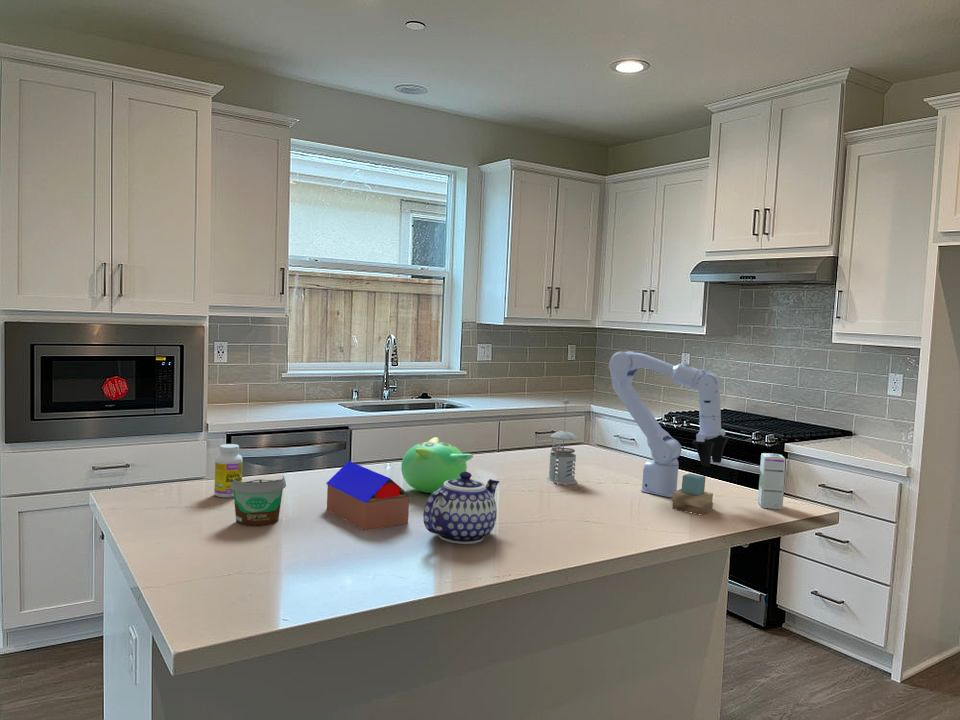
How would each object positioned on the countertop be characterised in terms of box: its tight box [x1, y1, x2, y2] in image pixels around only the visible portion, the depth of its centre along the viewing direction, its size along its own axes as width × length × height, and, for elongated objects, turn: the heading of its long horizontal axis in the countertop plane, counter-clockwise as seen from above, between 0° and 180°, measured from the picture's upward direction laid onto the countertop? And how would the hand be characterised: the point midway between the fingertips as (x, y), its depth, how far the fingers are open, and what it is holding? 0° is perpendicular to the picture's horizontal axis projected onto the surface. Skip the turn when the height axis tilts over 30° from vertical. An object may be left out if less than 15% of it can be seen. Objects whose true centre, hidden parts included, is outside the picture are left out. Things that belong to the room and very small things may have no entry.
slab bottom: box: [671, 501, 714, 516], centre depth 195 cm, size 8×8×2 cm
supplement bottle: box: [213, 443, 244, 499], centre depth 186 cm, size 7×7×13 cm
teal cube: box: [681, 472, 706, 496], centre depth 195 cm, size 4×4×4 cm
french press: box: [546, 399, 578, 485], centre depth 219 cm, size 10×12×25 cm
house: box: [325, 461, 411, 532], centre depth 173 cm, size 12×20×12 cm, turn 38°
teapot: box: [423, 471, 500, 545], centre depth 161 cm, size 25×15×15 cm, turn 139°
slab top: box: [671, 488, 714, 508], centre depth 195 cm, size 8×8×2 cm
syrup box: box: [757, 452, 786, 511], centre depth 201 cm, size 6×6×14 cm
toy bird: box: [400, 436, 474, 494], centre depth 199 cm, size 18×17×15 cm
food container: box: [230, 475, 287, 528], centre depth 163 cm, size 12×6×10 cm, turn 118°
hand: (711, 464), depth 204 cm, fingers open, 7 cm apart
